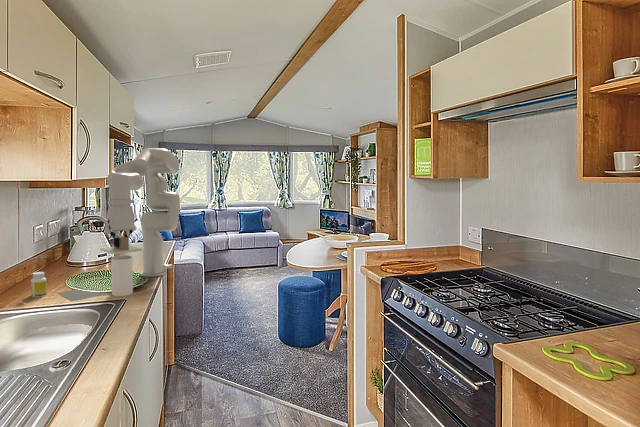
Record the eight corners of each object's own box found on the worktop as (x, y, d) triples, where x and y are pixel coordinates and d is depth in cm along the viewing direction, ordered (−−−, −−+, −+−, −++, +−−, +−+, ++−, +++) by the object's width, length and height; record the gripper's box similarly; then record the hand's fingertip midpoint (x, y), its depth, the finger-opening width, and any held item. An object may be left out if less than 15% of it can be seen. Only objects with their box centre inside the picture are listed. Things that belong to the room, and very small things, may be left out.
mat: (95, 286, 198) (95, 285, 198) (111, 294, 188) (111, 293, 188) (56, 293, 186) (56, 292, 186) (71, 302, 176) (71, 301, 176)
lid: (128, 246, 194) (128, 233, 194) (142, 250, 187) (141, 237, 186) (100, 250, 185) (100, 236, 185) (113, 254, 178) (113, 240, 177)
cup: (125, 297, 184) (124, 259, 182) (107, 295, 185) (106, 258, 184) (136, 292, 192) (136, 256, 190) (120, 290, 193) (119, 254, 192)
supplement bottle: (50, 295, 184) (49, 272, 183) (38, 298, 179) (37, 275, 178) (39, 293, 185) (39, 270, 184) (28, 297, 180) (27, 273, 179)
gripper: (135, 201, 193) (135, 243, 194) (96, 203, 180) (97, 247, 182) (143, 202, 188) (144, 245, 190) (104, 204, 175) (105, 250, 177)
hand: (121, 246), depth 186 cm, fingers closed on lid, 3 cm apart
